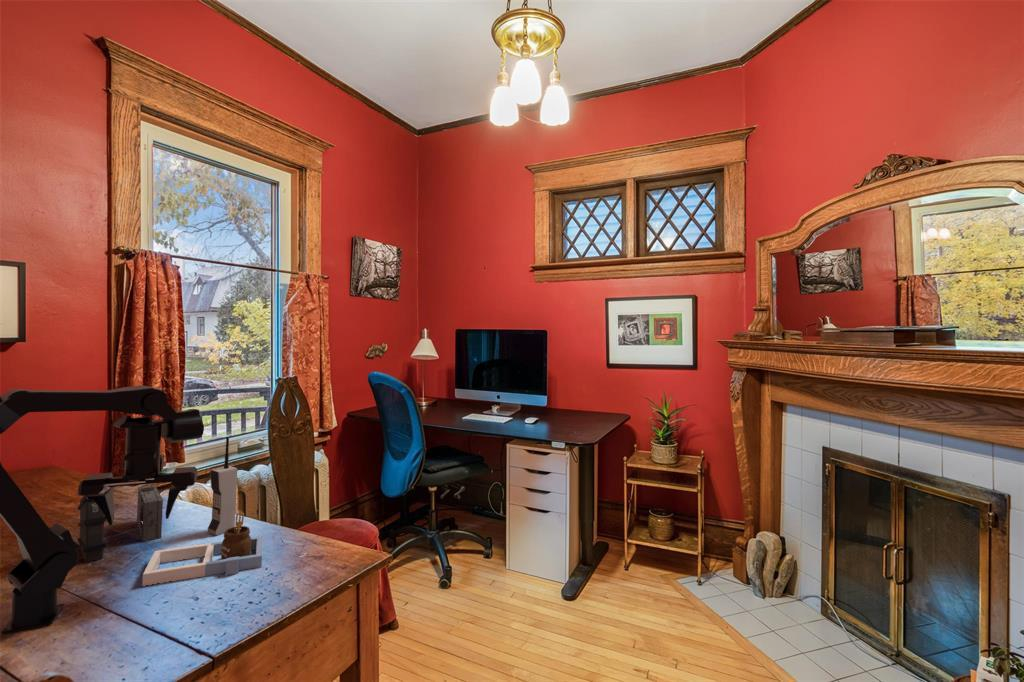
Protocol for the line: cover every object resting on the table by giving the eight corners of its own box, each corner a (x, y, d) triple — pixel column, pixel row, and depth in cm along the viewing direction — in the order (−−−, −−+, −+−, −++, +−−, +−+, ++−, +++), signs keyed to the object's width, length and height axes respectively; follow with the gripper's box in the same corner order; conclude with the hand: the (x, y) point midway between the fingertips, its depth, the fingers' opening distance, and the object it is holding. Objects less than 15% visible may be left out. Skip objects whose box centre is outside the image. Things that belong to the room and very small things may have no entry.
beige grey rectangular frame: (261, 569, 104) (261, 555, 104) (140, 589, 94) (141, 574, 94) (262, 543, 116) (262, 531, 116) (156, 559, 106) (156, 545, 106)
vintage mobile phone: (207, 532, 121) (211, 438, 121) (226, 526, 125) (230, 435, 125) (215, 536, 119) (219, 440, 119) (234, 529, 124) (239, 436, 123)
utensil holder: (248, 551, 112) (250, 502, 112) (252, 562, 107) (254, 510, 107) (219, 558, 108) (221, 507, 108) (222, 569, 103) (225, 515, 103)
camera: (135, 521, 126) (137, 485, 126) (153, 518, 129) (155, 482, 129) (142, 542, 114) (143, 502, 114) (161, 538, 117) (163, 499, 117)
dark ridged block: (85, 561, 100) (84, 492, 105) (77, 567, 108) (76, 503, 113) (108, 556, 103) (105, 488, 108) (98, 562, 111) (97, 499, 115)
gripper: (202, 436, 107) (199, 502, 107) (97, 440, 99) (94, 513, 99) (195, 446, 97) (191, 520, 97) (78, 453, 89) (75, 534, 89)
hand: (140, 521), depth 96 cm, fingers open, 9 cm apart
